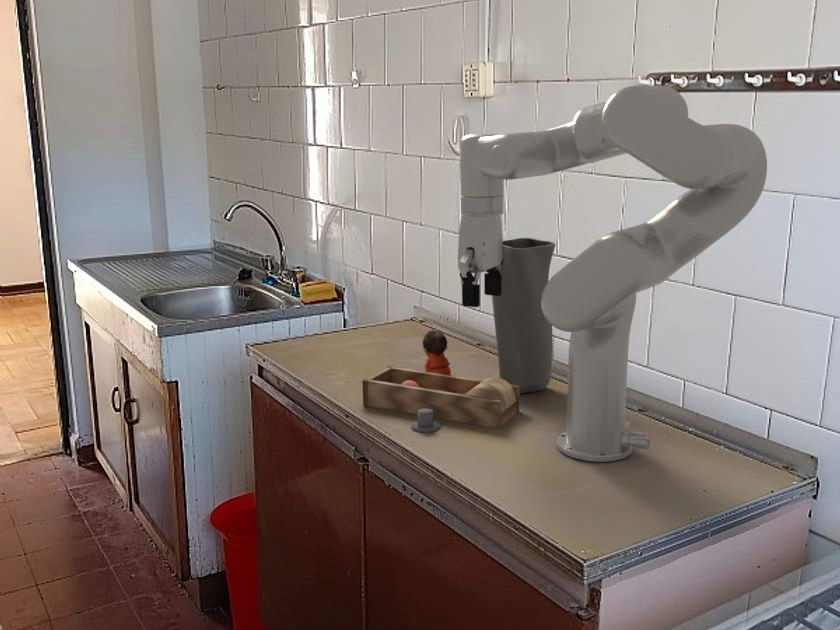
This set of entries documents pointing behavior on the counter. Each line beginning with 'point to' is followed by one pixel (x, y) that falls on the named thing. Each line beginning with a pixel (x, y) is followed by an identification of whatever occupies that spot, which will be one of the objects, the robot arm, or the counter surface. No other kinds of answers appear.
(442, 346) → the figurine
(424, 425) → the stand
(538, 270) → the vase
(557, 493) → the counter surface
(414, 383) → the ball
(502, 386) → the wooden trough
